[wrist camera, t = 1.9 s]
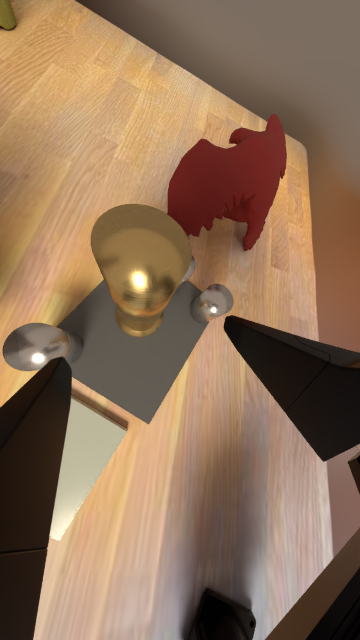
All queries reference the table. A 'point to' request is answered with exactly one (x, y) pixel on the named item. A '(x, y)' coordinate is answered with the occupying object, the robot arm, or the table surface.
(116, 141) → the table surface
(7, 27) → the plant pot
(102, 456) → the tile
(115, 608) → the table surface
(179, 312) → the mat
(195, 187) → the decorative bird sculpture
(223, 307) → the spacers
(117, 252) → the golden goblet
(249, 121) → the table surface
